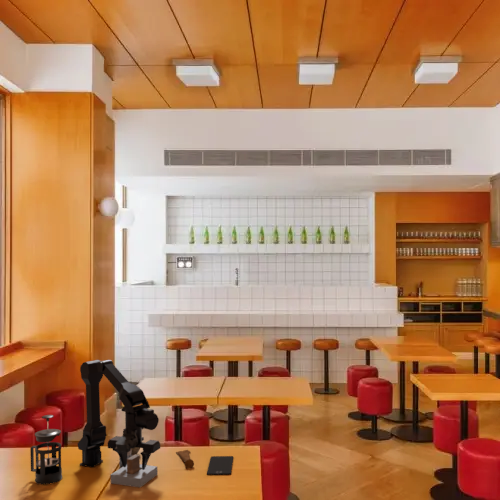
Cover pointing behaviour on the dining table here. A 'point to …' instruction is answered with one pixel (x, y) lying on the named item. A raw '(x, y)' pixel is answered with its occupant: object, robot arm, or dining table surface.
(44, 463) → the french press
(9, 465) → the dining table surface
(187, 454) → the primitive tool
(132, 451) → the decorative egg
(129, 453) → the round metal peg
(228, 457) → the cell phone
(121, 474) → the slotted block
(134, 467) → the walnut bar
